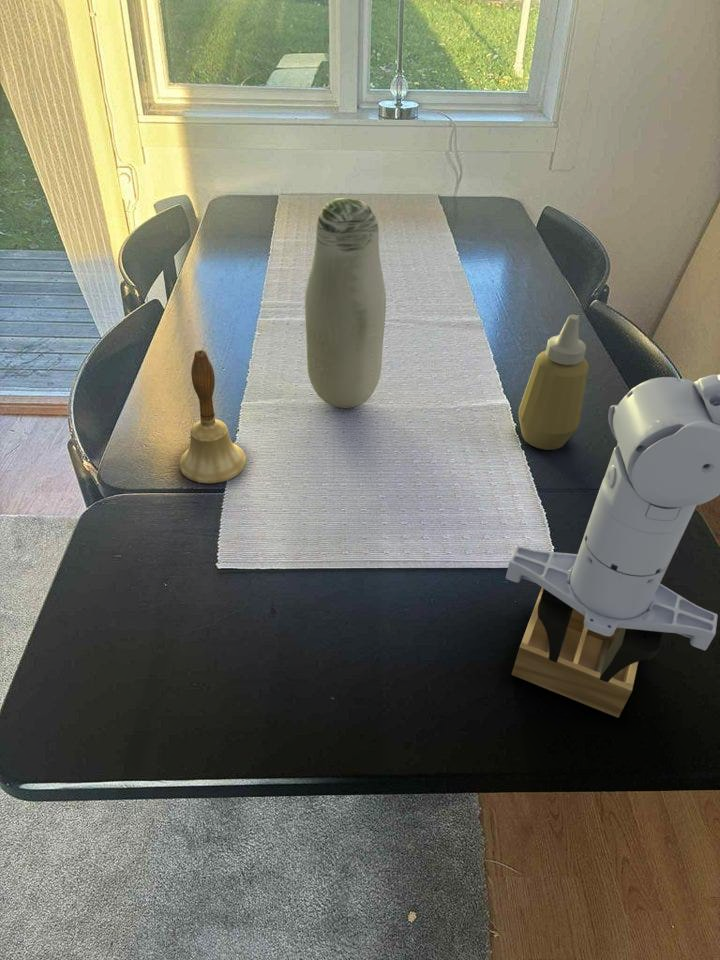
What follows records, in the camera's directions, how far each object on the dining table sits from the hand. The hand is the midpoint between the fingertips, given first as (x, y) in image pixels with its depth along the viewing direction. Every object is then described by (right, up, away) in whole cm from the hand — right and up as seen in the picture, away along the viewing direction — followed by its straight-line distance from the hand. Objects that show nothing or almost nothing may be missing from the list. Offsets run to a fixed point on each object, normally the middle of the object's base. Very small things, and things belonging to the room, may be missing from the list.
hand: (580, 661), depth 56 cm
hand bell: (-36, +17, +32) cm, 51 cm away
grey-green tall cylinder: (-20, +26, +44) cm, 55 cm away
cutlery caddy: (+3, -3, +11) cm, 12 cm away
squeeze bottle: (+7, +20, +38) cm, 44 cm away
